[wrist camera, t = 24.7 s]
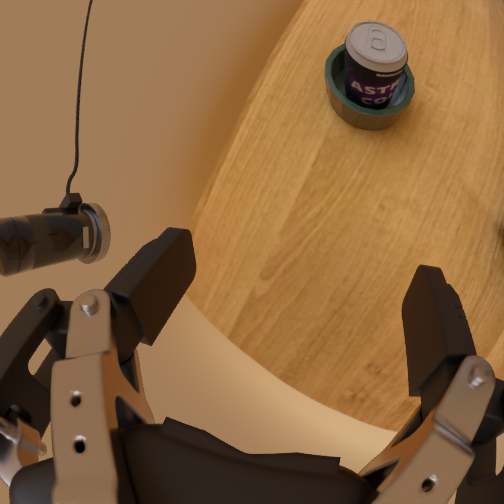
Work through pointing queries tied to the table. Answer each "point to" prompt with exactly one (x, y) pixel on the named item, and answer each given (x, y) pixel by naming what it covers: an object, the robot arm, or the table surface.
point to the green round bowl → (362, 115)
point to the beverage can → (373, 63)
